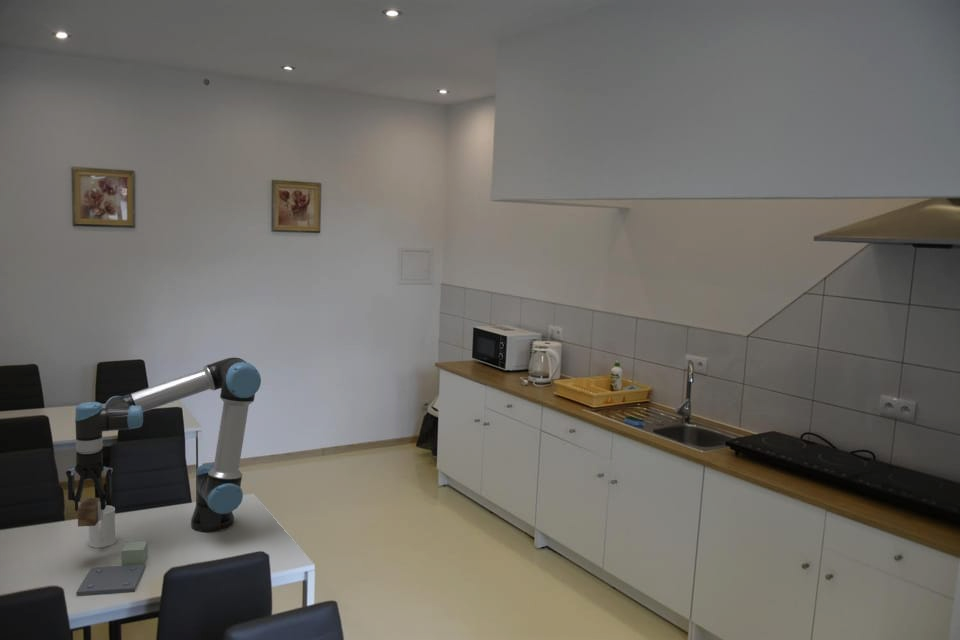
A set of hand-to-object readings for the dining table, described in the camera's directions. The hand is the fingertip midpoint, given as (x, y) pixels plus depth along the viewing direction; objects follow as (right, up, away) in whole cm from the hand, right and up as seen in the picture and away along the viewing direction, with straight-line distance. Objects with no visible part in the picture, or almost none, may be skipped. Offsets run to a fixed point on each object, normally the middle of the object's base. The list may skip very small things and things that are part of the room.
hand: (90, 519), depth 233 cm
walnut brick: (0, 0, 0) cm, 0 cm away
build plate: (+12, -17, -10) cm, 23 cm away
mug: (-4, -13, +15) cm, 20 cm away
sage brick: (+13, -15, +3) cm, 20 cm away
